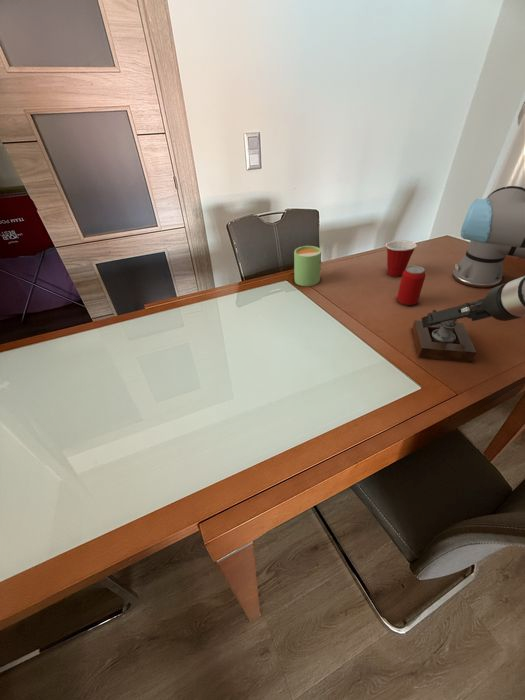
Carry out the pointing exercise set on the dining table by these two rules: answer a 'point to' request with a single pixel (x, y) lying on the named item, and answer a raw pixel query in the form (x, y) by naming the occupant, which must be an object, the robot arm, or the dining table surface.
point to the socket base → (444, 351)
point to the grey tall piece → (445, 332)
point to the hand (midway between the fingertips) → (448, 319)
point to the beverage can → (411, 285)
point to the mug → (307, 265)
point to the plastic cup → (398, 256)
